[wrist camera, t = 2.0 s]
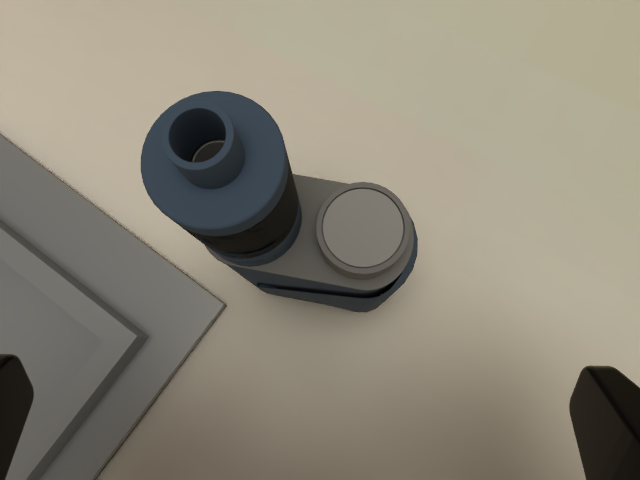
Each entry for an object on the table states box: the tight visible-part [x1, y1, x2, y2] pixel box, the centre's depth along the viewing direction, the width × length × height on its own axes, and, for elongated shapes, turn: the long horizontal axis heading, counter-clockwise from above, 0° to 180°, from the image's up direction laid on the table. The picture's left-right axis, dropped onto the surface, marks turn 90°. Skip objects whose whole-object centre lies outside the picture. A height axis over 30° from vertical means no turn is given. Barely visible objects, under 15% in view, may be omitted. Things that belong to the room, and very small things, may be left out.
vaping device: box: [141, 91, 417, 312], centre depth 13 cm, size 3×5×12 cm, turn 79°
